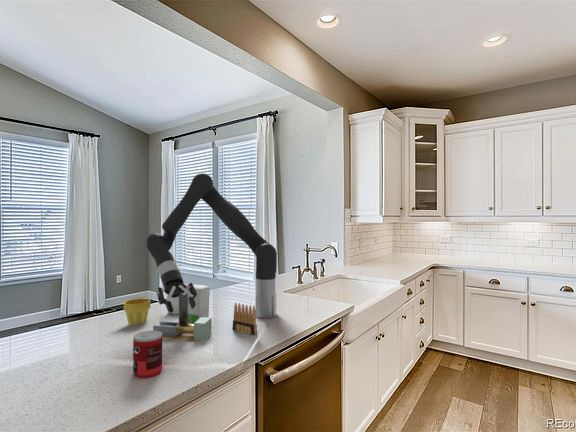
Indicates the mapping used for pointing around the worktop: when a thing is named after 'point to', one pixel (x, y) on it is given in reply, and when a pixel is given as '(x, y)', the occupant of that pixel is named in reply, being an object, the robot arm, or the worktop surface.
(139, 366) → the canned food
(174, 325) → the grey bolt guide channel
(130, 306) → the plant pot
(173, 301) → the supplement box
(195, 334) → the socket block
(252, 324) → the ammunition clip
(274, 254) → the robot arm
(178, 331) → the slide bolt
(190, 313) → the skincare box
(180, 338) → the oak board
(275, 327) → the worktop surface
